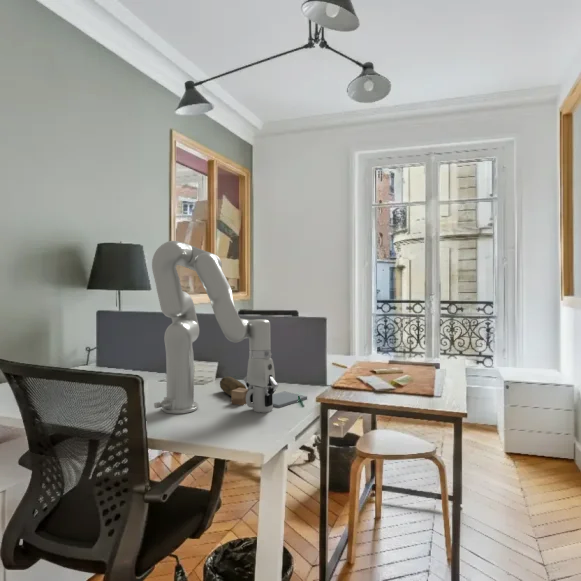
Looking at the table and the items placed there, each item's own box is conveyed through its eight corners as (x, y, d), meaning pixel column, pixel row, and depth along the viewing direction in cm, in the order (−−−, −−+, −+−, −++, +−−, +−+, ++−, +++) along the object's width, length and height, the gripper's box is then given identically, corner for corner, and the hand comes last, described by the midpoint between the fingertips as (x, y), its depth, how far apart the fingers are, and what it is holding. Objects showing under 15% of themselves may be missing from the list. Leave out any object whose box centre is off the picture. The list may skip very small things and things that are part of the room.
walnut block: (242, 405, 169) (242, 392, 169) (231, 403, 171) (231, 390, 171) (250, 402, 173) (250, 389, 173) (238, 400, 176) (238, 387, 175)
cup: (275, 411, 162) (276, 386, 161) (249, 414, 158) (249, 389, 157) (268, 406, 168) (268, 381, 168) (242, 409, 164) (242, 384, 164)
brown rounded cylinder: (216, 392, 188) (216, 376, 188) (231, 390, 192) (231, 374, 192) (233, 400, 176) (233, 383, 175) (249, 398, 180) (249, 381, 179)
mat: (278, 407, 166) (278, 405, 166) (255, 401, 174) (255, 399, 174) (307, 399, 178) (307, 396, 178) (284, 393, 186) (284, 391, 186)
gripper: (285, 355, 159) (285, 406, 160) (251, 350, 171) (251, 397, 171) (270, 358, 153) (270, 410, 154) (235, 353, 165) (236, 401, 166)
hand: (260, 403), depth 163 cm, fingers closed on cup, 7 cm apart
